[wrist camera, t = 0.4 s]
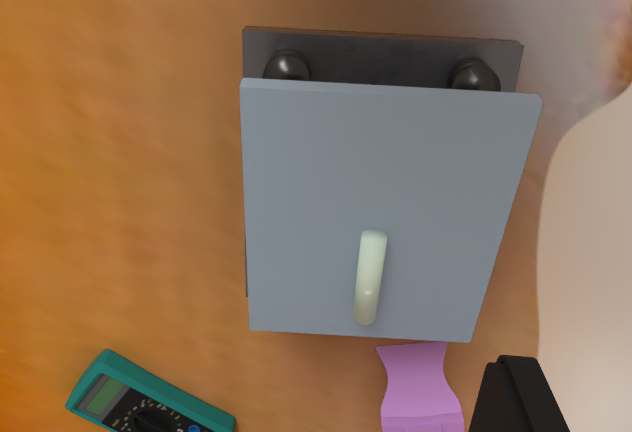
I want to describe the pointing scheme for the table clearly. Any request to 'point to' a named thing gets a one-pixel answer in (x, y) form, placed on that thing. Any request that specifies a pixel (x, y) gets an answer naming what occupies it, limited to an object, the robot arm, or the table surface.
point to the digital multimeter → (140, 401)
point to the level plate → (377, 204)
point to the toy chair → (418, 390)
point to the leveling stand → (380, 60)
